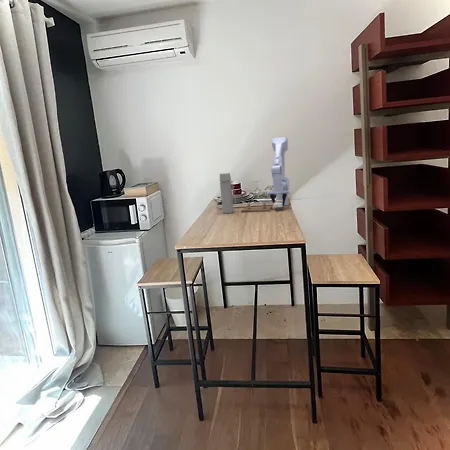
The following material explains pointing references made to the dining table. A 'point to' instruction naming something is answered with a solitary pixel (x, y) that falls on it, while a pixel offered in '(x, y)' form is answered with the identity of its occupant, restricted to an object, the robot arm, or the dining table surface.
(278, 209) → the block
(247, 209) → the peg stand
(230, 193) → the water bottle
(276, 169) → the robot arm
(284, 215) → the dining table surface
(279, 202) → the shelf board
